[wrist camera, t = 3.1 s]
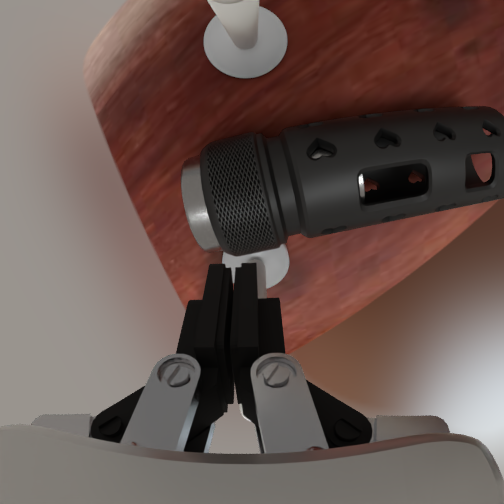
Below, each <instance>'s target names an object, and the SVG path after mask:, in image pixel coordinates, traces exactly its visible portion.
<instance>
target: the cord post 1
mask: <svg viewBox="0 0 504 504" xmlns="http://www.w3.org/2000/svg"><path fill="white" fill-rule="evenodd" d="M207 1H208V3H209V4H210V6H211V7H212V9H213V10H214V12H215V14H216V16H215V17H214V18H213V19H212V20H211V22H210V23H209V24H208V26H207V28H206V31H205V35H204V49H205V52H206V55H207V57H208V59H209V60H210V62H211V63H212V64H213V65H214V66H215V67H216V68H217V69H218V70H220V71H221V72H223V73H225V74H227V75H230V76H233V77H237V78H254V77H258V76H261V75H264V74H266V73H268V72H269V71H271V70H272V69H273V68H274V67H276V66H277V65H278V64H279V62H280V61H281V60H282V58H283V56H284V54H285V52H286V48H287V34H286V30H285V28H284V25H283V24H282V22H281V21H280V19H279V18H278V17H277V16H276V15H275V14H273V13H272V12H271V11H269V10H267V9H265V8H263V7H260V6H259V0H207Z"/></svg>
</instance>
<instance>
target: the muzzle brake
mask: <svg viewBox="0 0 504 504" xmlns="http://www.w3.org/2000/svg"><path fill="white" fill-rule="evenodd" d="M483 128H484V129H486V130H488V131H489V132H491V133H492V134H490V135H486V134H485V133H484V131H483ZM480 153H491V156H492V174H491V177H490V179H489V180H488V181H487V182H484V183H483V182H482V180H481V179H480V178H479V176H478V175H477V173H476V171H475V169H474V166H473V163H472V159H471V154H480ZM411 172H413V173H414V174H416V175H417V176H419V177H420V178H421V179H422V182H420V181H416V182H415V183H411V182H409V180H408V177H409V175H410V174H411ZM366 179H367V180H369V181H370V182H372V183H374V184H375V185H376V186H377V190H373V189H371V190H370V191H368V192H365V191H364V182H365V180H366ZM181 190H182V198H183V203H184V208H185V212H186V216H187V220H188V223H189V226H190V228H191V231H192V233H193V235H194V237H195V239H196V241H197V243H198V244H199V246H200V247H201V248H202V249H203V250H204V251H205V252H207V253H212V252H217V251H222V250H223V251H224V252H225V253H227V254H229V255H232V256H235V257H238V256H243V255H248V254H253V253H258V252H263V251H268V250H272V249H277V248H280V246H281V244H285V243H287V239H288V236H291V235H295V234H300V233H301V234H302V235H304V236H305V237H308V238H313V237H317V236H322V235H327V234H331V233H337V232H342V231H346V230H351V229H356V228H361V227H366V226H371V225H376V224H380V223H385V222H389V221H395V220H400V219H405V218H410V217H414V216H419V215H424V214H429V213H434V212H439V211H444V210H448V209H453V208H458V207H463V206H468V205H473V204H478V203H483V202H488V201H493V200H497V199H502V198H504V116H503V115H502V114H501V113H499V112H498V111H497V110H495V109H493V108H491V107H486V106H472V107H444V108H427V109H418V110H417V109H414V110H403V111H393V112H383V113H375V114H368V115H359V116H352V117H345V118H339V119H333V120H327V121H321V122H315V123H310V124H304V125H299V126H294V127H289V128H285V129H283V130H282V132H281V133H280V135H279V136H276V137H272V138H267V139H266V138H265V137H264V136H263V134H262V133H260V134H255V133H254V132H250V133H245V134H241V135H237V136H233V137H229V138H225V139H222V140H218V141H214V142H211V143H209V144H208V145H207V146H206V147H205V148H204V149H203V150H202V152H201V155H198V156H195V157H191V158H188V159H187V160H185V161H184V163H183V166H182V170H181Z"/></svg>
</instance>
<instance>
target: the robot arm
mask: <svg viewBox="0 0 504 504" xmlns="http://www.w3.org/2000/svg"><path fill="white" fill-rule="evenodd" d="M234 382H235V387H236V394H237V400H238V404H242V409H243V415H244V416H245V417H246V418H248V419H249V420H250V421H251V422H253V423H254V424H255V431H256V435H257V441H258V446H259V451H260V454H215V453H214V454H213V453H208V452H209V448H210V445H211V441H212V437H213V433H214V429H215V421H216V420H217V419H219V418H220V417H221V416H223V414H224V412H227V408H228V404H233V402H234ZM0 504H504V480H503V477H502V475H501V472H500V470H499V467H498V465H497V463H496V461H495V460H494V458H493V456H492V454H491V453H490V451H489V450H488V448H487V447H486V446H485V445H484V444H483V443H482V442H481V441H479V440H477V439H475V438H473V437H469V436H466V435H461V434H454V433H450V431H449V428H448V425H447V424H446V423H445V422H444V420H443V419H441V418H439V417H436V416H376V418H366V417H365V416H364V415H363V414H361V413H360V412H358V411H356V410H355V409H353V408H351V407H349V406H348V405H346V404H344V403H343V402H341V401H339V400H337V399H336V398H335V397H333V396H331V395H330V394H328V393H326V392H325V391H323V390H321V389H320V388H318V387H317V386H315V385H313V384H312V383H310V382H308V381H307V380H306V379H305V376H304V373H303V370H302V367H301V365H300V364H299V362H298V361H297V360H296V359H295V358H293V357H292V356H290V355H287V354H285V346H284V336H283V326H282V317H281V308H280V300H279V298H259V299H258V286H257V263H241V267H236V268H235V280H234V291H233V280H232V270H231V267H229V268H226V265H225V264H210V265H209V269H208V274H207V279H206V284H205V289H204V295H203V300H189V302H188V305H187V309H186V313H185V317H184V321H183V325H182V330H181V334H180V338H179V343H178V347H177V351H176V354H172V355H168V356H166V357H164V358H162V359H161V360H160V361H159V362H157V364H156V365H155V367H154V368H153V370H152V372H151V374H150V377H149V379H148V381H147V383H146V385H145V386H144V387H142V388H141V389H139V390H137V391H135V392H134V393H132V394H131V395H129V396H127V397H126V398H124V399H122V400H121V401H119V402H117V403H116V404H114V405H112V406H111V407H109V408H107V409H106V410H104V411H102V412H101V413H100V414H98V415H97V416H96V417H92V416H91V415H90V414H74V415H41V416H39V417H37V418H36V419H35V420H34V421H33V422H32V424H31V425H24V424H21V425H8V426H2V427H0Z"/></svg>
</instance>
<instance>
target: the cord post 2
mask: <svg viewBox="0 0 504 504" xmlns="http://www.w3.org/2000/svg"><path fill="white" fill-rule="evenodd" d="M241 263H257V286H258V299H259V298H267V290H266V289H267V288H270V287H272V286H274V285H276V284H277V283H279V282H280V281H281V280H282V279H283V278H284V276H285V275H286V273H287V271H288V268H289V256H288V250H287V246H286V244H281V246H280V248H277V249H272V250H268V251H263V252H258V253H253V254H248V255H243V256H238V257H235V256H232V255H229V254H227V253H225V252H224V253H223V260H222V264H225V265H226V268H229V267H231V270H232V280H233V283H234V280H235V268H236V267H241ZM240 412H241V414H242V416H243V417H244V418H245V419H246V420H248V421H250V420H249V419H248V418H246V417H245V416H244V415H243V409H242V404H240Z"/></svg>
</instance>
